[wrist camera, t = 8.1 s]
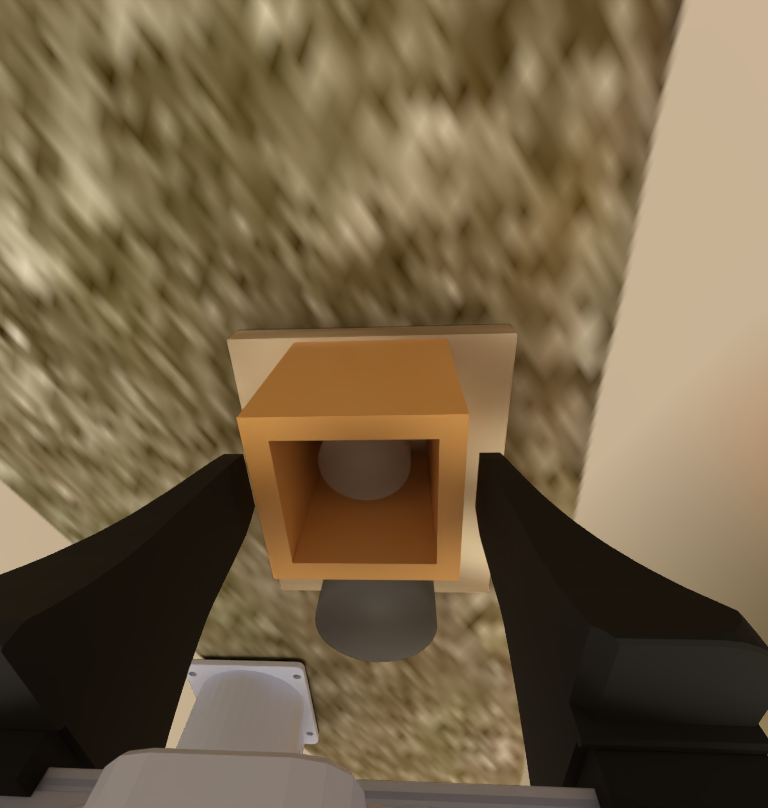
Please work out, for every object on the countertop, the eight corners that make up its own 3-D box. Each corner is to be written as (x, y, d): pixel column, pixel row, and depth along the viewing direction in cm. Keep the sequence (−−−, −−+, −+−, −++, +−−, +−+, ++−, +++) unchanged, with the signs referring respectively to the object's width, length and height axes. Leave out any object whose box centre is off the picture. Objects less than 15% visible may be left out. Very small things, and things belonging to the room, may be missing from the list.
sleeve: (446, 338, 15) (469, 414, 10) (443, 465, 18) (459, 580, 13) (294, 342, 16) (236, 417, 10) (312, 467, 18) (273, 578, 13)
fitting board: (484, 573, 22) (504, 671, 18) (287, 571, 23) (257, 665, 18) (510, 324, 16) (552, 375, 12) (238, 330, 17) (174, 381, 12)
